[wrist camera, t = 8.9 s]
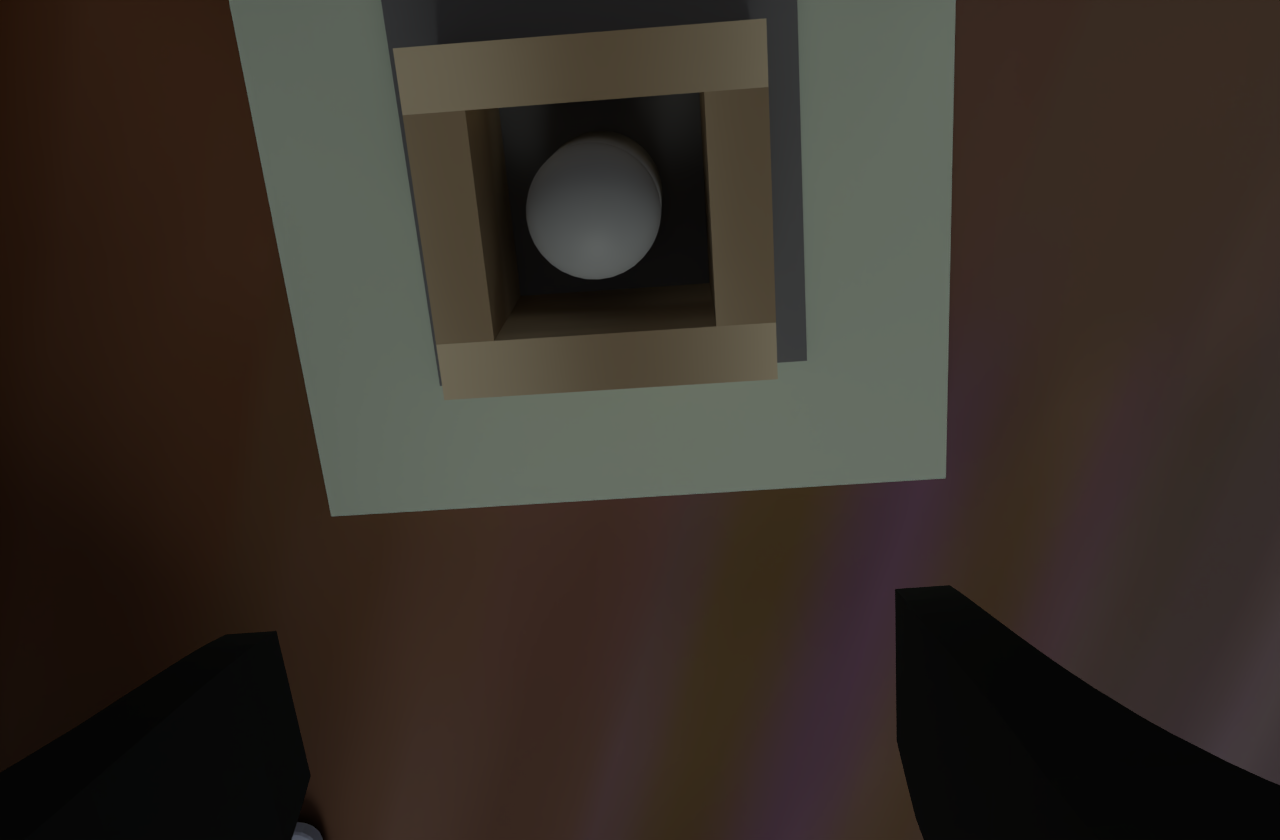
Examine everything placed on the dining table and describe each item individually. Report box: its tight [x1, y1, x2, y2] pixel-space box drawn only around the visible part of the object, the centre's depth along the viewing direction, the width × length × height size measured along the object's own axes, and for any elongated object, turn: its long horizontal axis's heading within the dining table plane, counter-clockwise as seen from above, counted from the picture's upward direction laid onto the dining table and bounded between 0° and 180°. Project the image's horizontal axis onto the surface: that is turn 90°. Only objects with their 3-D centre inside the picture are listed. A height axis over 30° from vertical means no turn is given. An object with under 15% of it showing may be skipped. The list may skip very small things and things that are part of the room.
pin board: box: [229, 0, 956, 516], centre depth 17 cm, size 12×12×5 cm
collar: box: [393, 18, 778, 400], centre depth 17 cm, size 5×5×3 cm
